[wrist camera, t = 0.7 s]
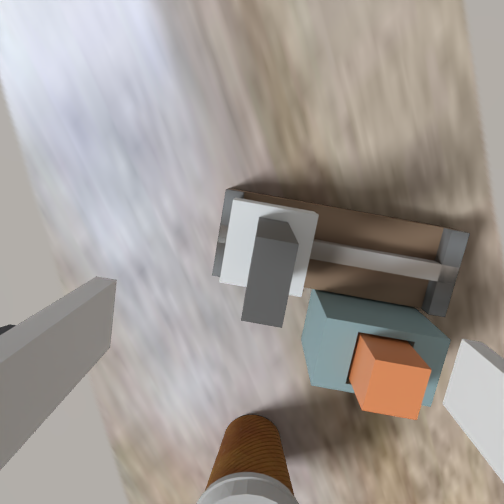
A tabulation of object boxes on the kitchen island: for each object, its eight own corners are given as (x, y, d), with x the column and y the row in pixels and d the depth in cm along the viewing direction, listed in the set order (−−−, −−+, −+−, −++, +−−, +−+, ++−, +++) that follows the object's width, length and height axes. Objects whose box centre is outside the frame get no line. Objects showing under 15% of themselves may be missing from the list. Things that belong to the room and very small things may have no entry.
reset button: (352, 321, 34) (375, 359, 27) (397, 329, 34) (431, 369, 27) (342, 363, 34) (361, 410, 28) (386, 371, 34) (416, 420, 28)
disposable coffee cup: (253, 384, 42) (248, 467, 30) (312, 442, 43) (330, 543, 31) (192, 437, 43) (165, 535, 32) (250, 491, 44) (245, 604, 33)
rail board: (229, 188, 38) (225, 189, 34) (450, 227, 38) (469, 233, 34) (216, 266, 39) (212, 275, 36) (428, 304, 39) (444, 317, 36)
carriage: (235, 197, 34) (218, 211, 21) (314, 211, 34) (343, 233, 21) (223, 273, 35) (199, 329, 22) (298, 286, 35) (317, 350, 22)
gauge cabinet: (312, 285, 39) (326, 317, 30) (414, 303, 39) (458, 341, 30) (300, 342, 41) (310, 388, 32) (399, 359, 41) (436, 411, 32)
